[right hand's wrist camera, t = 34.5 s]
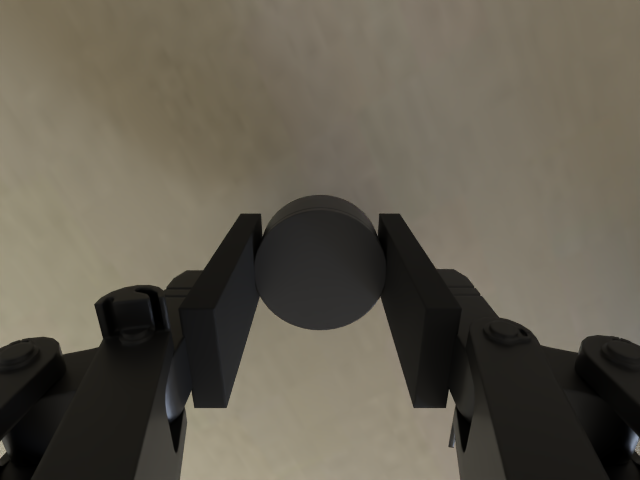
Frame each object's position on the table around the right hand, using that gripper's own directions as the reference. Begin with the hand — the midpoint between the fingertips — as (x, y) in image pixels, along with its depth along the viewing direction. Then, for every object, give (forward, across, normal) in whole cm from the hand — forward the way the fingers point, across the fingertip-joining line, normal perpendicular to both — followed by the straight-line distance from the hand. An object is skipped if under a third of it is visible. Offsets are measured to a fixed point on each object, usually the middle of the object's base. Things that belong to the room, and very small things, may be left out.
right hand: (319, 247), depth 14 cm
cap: (-2, 0, 0) cm, 2 cm away
